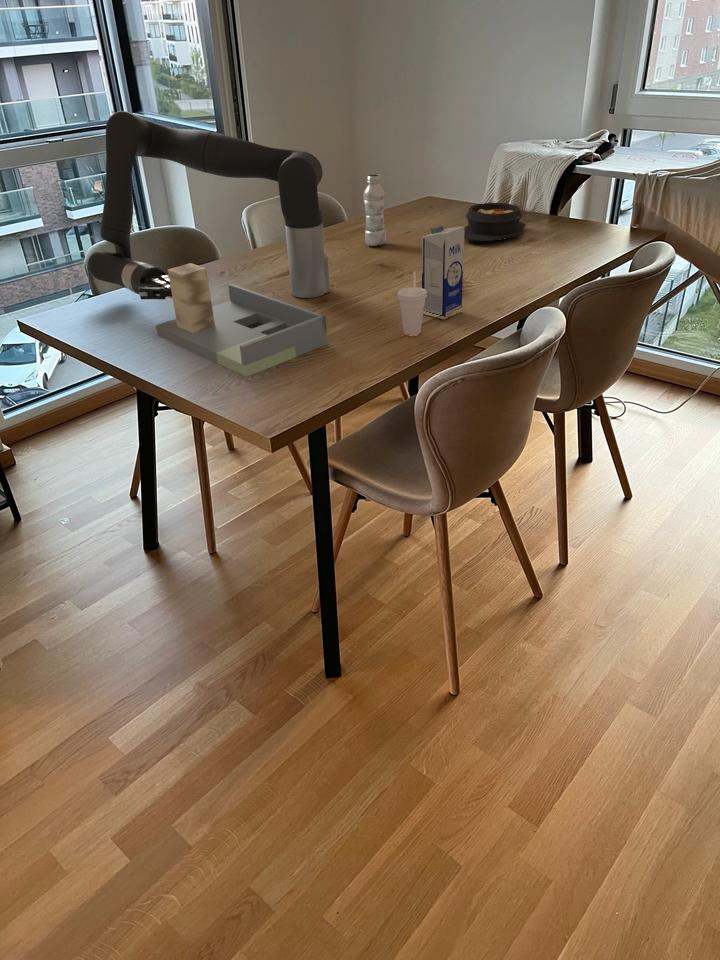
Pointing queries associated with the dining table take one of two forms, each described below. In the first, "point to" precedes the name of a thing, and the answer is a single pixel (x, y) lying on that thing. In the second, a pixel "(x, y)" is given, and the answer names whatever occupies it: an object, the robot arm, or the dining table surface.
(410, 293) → the smoothie
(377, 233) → the plastic bottle
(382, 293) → the dining table surface
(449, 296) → the milk carton
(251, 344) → the trap deck
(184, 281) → the maple block
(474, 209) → the casserole
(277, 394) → the dining table surface
